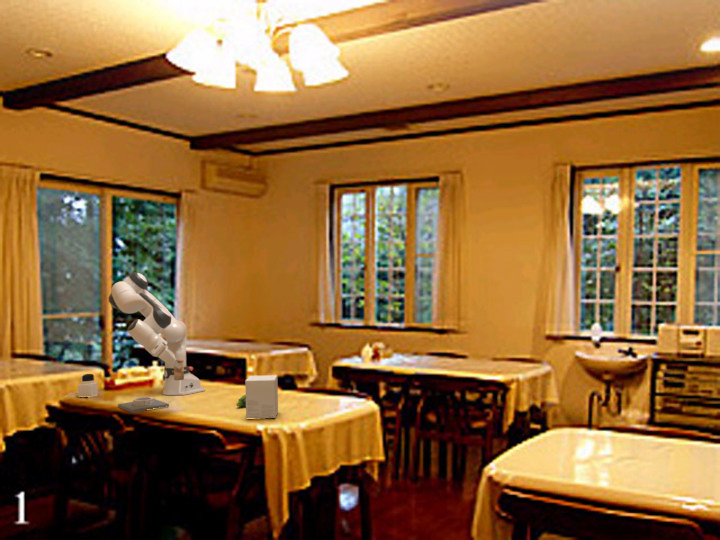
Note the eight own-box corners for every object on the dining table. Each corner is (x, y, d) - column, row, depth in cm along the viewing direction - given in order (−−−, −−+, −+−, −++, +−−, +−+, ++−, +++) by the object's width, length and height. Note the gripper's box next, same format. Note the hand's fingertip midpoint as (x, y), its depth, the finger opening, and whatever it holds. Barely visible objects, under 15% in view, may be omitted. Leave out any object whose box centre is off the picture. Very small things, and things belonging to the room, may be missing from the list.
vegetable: (264, 384, 320) (239, 392, 303) (270, 397, 319) (245, 406, 301) (254, 389, 323) (229, 397, 306) (259, 402, 322) (234, 411, 304)
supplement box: (278, 412, 294) (278, 374, 294) (275, 419, 281) (274, 379, 281) (250, 413, 294) (249, 375, 294) (245, 420, 281) (244, 380, 281)
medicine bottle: (97, 395, 341) (97, 373, 341) (90, 398, 334) (90, 375, 334) (85, 395, 342) (84, 373, 341) (77, 398, 334) (77, 375, 334)
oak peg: (181, 378, 303) (181, 359, 303) (185, 379, 300) (185, 360, 299) (172, 379, 300) (172, 360, 300) (176, 380, 297) (176, 361, 296)
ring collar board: (153, 401, 323) (153, 393, 323) (169, 406, 310) (168, 398, 310) (118, 407, 311) (117, 398, 311) (132, 413, 298) (132, 404, 298)
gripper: (152, 349, 306) (174, 368, 309) (153, 355, 286) (176, 375, 290) (162, 339, 307) (183, 358, 310) (163, 344, 288) (186, 364, 291)
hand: (180, 366), depth 300 cm, fingers closed on oak peg, 4 cm apart
